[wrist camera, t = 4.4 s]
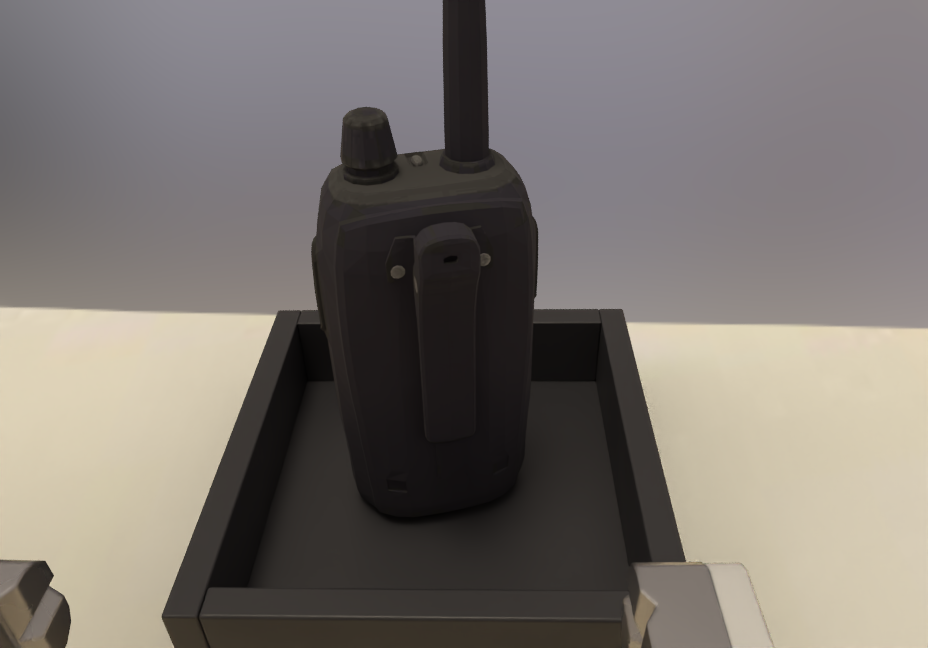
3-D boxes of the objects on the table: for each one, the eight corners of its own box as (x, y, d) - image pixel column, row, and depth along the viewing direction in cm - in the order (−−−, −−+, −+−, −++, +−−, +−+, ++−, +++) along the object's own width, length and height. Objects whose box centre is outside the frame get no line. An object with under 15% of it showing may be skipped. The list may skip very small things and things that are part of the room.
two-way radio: (513, 423, 25) (525, -104, 16) (558, 531, 21) (606, -69, 12) (341, 455, 24) (254, -88, 15) (360, 574, 20) (258, -45, 11)
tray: (614, 375, 27) (622, 308, 26) (681, 694, 18) (702, 622, 16) (291, 375, 28) (278, 309, 26) (190, 688, 18) (159, 617, 17)
